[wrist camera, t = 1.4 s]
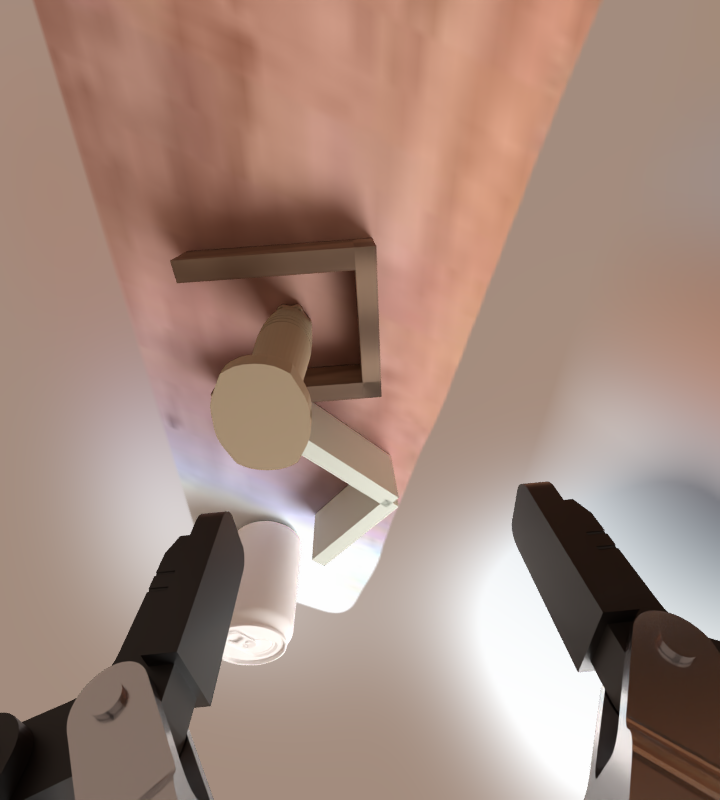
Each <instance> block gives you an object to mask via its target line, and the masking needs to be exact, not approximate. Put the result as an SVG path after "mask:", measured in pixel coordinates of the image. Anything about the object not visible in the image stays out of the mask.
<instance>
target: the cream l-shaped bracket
mask: <svg viewBox="0 0 720 800" xmlns="http://www.w3.org/2000/svg"><path fill="white" fill-rule="evenodd" d="M311 409H312V426H311V433H310V438H309V441H308V444H307V446H306V448H305V450H304V452H303V454H302V456H304V457H305V458H307V459H308V460H310V461H312V462H313V463H315V464H317V465H318V466H320V467H322V468H323V469H325V470H326V471H328V472H330V473H331V474H333V475H335V476H336V477H338V478H339V479H341V480H343V481H344V482H346V483H348V484H349V485H348V486H347V487H346V488H344V489H343V490H342V491H341V492H340V493H339V494H338V495H336V496H335V497H334V498H333V499H332V500H331V501H330V502H329V503H327V504H326V505H325V506H324V507H323V508H322V509H321V510H320V511H318V512H317V513H316V514H315V525H314V540H313V556H312V560H314V561H316V562H318V563H320V564H322V565H324V566H325V565H326V564H327V563H329V562H330V561H331V560H332V559H334V558H335V557H336V556H337V555H339V554H340V553H341V552H342V551H344V550H345V549H346V548H348V547H349V546H350V545H351V544H353V543H354V542H355V541H356V540H358V539H359V538H360V537H361V536H363V535H364V534H365V533H366V532H368V531H369V530H370V529H371V528H373V527H374V526H375V525H376V524H378V523H379V522H380V521H381V520H383V519H384V518H385V517H386V516H388V515H389V514H390V513H391V512H393V511H394V510H395V509H396V508H398V507H399V505H398V500H397V499H398V498H399V497H398V492H397V486H396V481H395V476H394V470H393V465H392V460H391V456H390V455H389V454H387V453H386V452H384V451H383V450H382V449H380V448H379V447H377V446H376V445H374V444H373V443H371V442H370V441H369V440H367V439H366V438H364V437H363V436H361V435H360V434H358V433H357V432H355V431H354V430H353V429H351V428H350V427H348V426H347V425H345V424H344V423H342V422H341V421H339V420H338V419H337V418H335V417H334V416H332V415H331V414H329V413H328V412H326V411H325V410H324V409H322V408H321V407H319V406H318V405H316V404H315V403H313V402H311Z"/></svg>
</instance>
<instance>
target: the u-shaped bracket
mask: <svg viewBox="0 0 720 800" xmlns="http://www.w3.org/2000/svg"><path fill="white" fill-rule="evenodd" d="M170 262H171V265H172V268H173V272H174V275H175V278H176V282H177V283H186V282H200V281H214V280H227V279H241V278H255V277H269V276H282V275H296V274H310V273H324V272H338V271H351V270H355V286H356V301H357V317H358V332H359V348H360V363H361V364H355V365H342V366H329V367H316V368H307V370H306V373H305V377H304V380H303V381H304V383H305V385H306V387H307V389H308V392H309V394H310V398H311V402H321V401H334V400H347V399H360V398H373V397H381V370H380V341H379V313H378V284H377V255H376V245H375V243H374V241H373V239H372V238H366V239H352V240H338V241H324V242H310V243H297V244H283V245H269V246H255V247H241V248H227V249H213V250H199V251H187V252H185V253H183V254H182V255H180V256H178V257H176V258H174V259H172V260H171V261H170ZM214 389H215V388H214ZM214 389H213V391H212V393H211V396H212V395H213V392H214Z"/></svg>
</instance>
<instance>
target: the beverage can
mask: <svg viewBox="0 0 720 800" xmlns="http://www.w3.org/2000/svg"><path fill="white" fill-rule="evenodd" d="M238 534H239V537H240V540H241V543H242V545H243V549H244V570H243V574H242V578H241V582H240V587H239V591H238V595H237V599H236V603H235V607H234V611H233V615H232V620H231V624H230V628H229V632H228V636H227V640H226V644H225V648H224V653H223V657H222V660H224V661H227V662H230V663H233V664H239V665H260V664H265V663H269V662H272V661H274V660H276V659H278V658H279V657H280V656H282V655H283V654H284V652H285V650H286V648H287V644H288V643H289V641H290V639H291V638H292V635H293V629H294V618H295V609H296V608H295V607H296V598H297V588H298V577H299V567H300V556H301V540H300V538H299V536H298V535H297V533H296V532H295V531H294V530H292V529H291V528H289V527H288V526H286V525H283V524H281V523H277V522H272V521H259V522H253V523H250V524H247V525H245V526H243V527H242V528H240V529H239V530H238Z"/></svg>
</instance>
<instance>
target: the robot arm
mask: <svg viewBox="0 0 720 800" xmlns="http://www.w3.org/2000/svg"><path fill="white" fill-rule="evenodd" d="M512 531H513V536H514V540H515V543H516V545H517V547H518V550H519V552H520V553H521V556H522V558H523V560H524V562H525V564H526V566H527V568H528V570H529V572H530V574H531V576H532V578H533V580H534V582H535V584H536V587H537V589H538V591H539V593H540V595H541V597H542V599H543V601H544V603H545V605H546V607H547V609H548V611H549V613H550V615H551V617H552V619H553V622H554V624H555V626H556V628H557V630H558V632H559V634H560V636H561V638H562V640H563V642H564V644H565V646H566V648H567V650H568V652H569V654H570V656H571V658H572V661H573V663H574V665H575V667H576V669H577V671H578V672H587V671H596V673H597V675H598V677H599V679H600V680H601V682H602V684H603V686H602V688H601V694H600V702H599V708H598V717H597V725H596V731H595V740H594V747H593V754H592V762H591V770H590V777H589V782H588V787H587V791H586V795H585V798H584V800H720V641H718V640H714V639H711V638H708V637H707V636H706V635H705V634H704V633H703V632H702V631H700V630H699V629H698V628H697V627H695V626H694V625H693V624H691V623H690V622H688V621H686V620H684V619H683V618H681V617H679V616H676V615H674V614H671V613H668V612H667V611H666V610H665V609H664V608H663V606H662V605H661V604H660V603H659V601H658V600H657V599H656V598H655V596H654V595H653V594H652V592H651V591H650V590H649V588H648V587H647V586H646V585H645V583H644V582H643V580H642V579H641V578H640V576H639V575H638V574H637V572H636V571H635V570H634V569H633V567H632V566H631V565H630V563H629V562H628V561H627V559H626V558H625V557H624V555H623V554H622V553H621V551H620V550H619V549H618V548H616V547H615V543H614V542H613V541H612V539H611V538H610V537H609V535H608V534H605V532H604V529H603V528H602V526H601V525H600V524H599V522H598V521H597V520H596V518H595V517H594V516H593V514H592V513H591V512H589V511H588V510H587V509H585V508H584V507H583V506H581V505H580V504H579V503H577V502H576V501H574V500H573V499H569V500H563V499H562V497H561V496H560V494H559V493H558V491H557V490H556V488H555V487H554V486H553V485H552V484H551V483H550V482H538V483H528V484H520V485H519V487H518V490H517V496H516V502H515V508H514V513H513V519H512ZM243 570H244V549H243V545H242V543H241V540H240V537H239V534H238V531H237V529H236V526H235V523H234V520H233V517H232V515H231V513H230V512H218V513H208V514H201V515H199V516H198V518H197V520H196V522H195V525H194V527H193V529H192V532H191V534H190V535H186V536H180V537H179V539H177V540H176V542H175V543H174V544H173V545H172V546H171V547H170V548H169V549H168V551H167V552H166V553H165V555H164V557H163V559H162V561H161V563H160V565H159V568H158V570H157V572H156V573H157V574H156V576H154V578H153V581H152V583H151V585H150V587H149V592H147V594H146V596H145V598H144V600H143V602H142V604H141V607H140V609H139V611H138V613H137V615H136V617H135V619H134V622H133V624H132V626H131V628H130V630H129V632H128V635H127V637H126V639H125V641H124V643H123V645H122V648H121V650H120V652H119V654H118V656H117V658H116V660H115V661H114V663H113V664H112V666H111V667H108V668H107V669H105V670H104V671H102V672H101V673H99V674H98V675H97V676H95V677H94V678H93V679H92V680H91V681H90V682H89V683H88V684H87V685H86V686H85V688H84V689H83V690H82V691H81V693H80V694H79V695H78V697H77V698H76V699H74V700H72V701H70V702H68V703H65V704H63V705H61V706H58V707H56V708H54V709H52V710H49V711H47V712H45V713H42V714H40V715H38V716H35V717H33V718H31V719H28V720H26V721H24V722H21V721H19V720H18V719H17V718H16V717H15V716H13V715H11V714H9V713H0V800H214V799H213V796H212V793H211V790H210V787H209V785H208V782H207V779H206V776H205V773H204V770H203V768H202V765H201V762H200V759H199V756H198V754H197V751H196V748H195V745H194V742H193V740H192V737H191V734H190V731H189V729H188V727H189V724H190V720H191V716H192V713H193V709H194V708H196V707H206V706H211V702H212V698H213V693H214V690H215V685H216V681H217V677H218V673H219V669H220V665H221V661H222V657H223V653H224V648H225V644H226V640H227V636H228V632H229V628H230V624H231V620H232V615H233V611H234V607H235V603H236V599H237V595H238V591H239V587H240V582H241V578H242V574H243Z"/></svg>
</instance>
